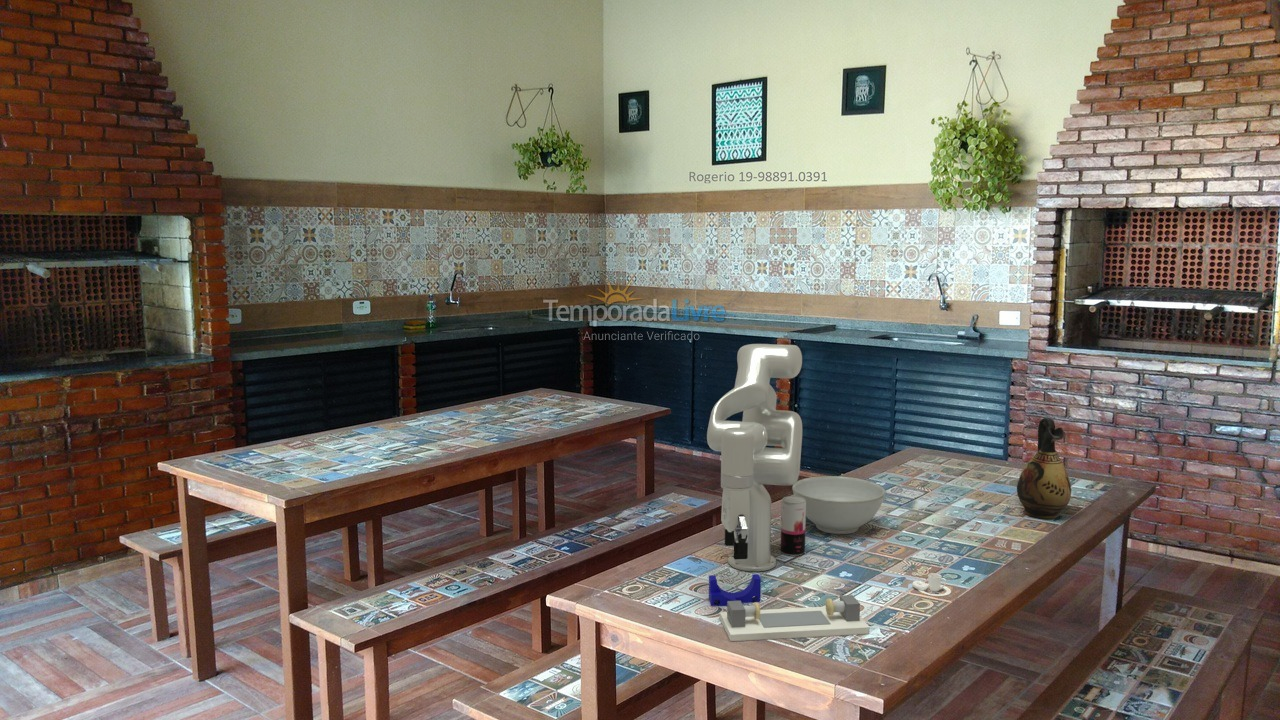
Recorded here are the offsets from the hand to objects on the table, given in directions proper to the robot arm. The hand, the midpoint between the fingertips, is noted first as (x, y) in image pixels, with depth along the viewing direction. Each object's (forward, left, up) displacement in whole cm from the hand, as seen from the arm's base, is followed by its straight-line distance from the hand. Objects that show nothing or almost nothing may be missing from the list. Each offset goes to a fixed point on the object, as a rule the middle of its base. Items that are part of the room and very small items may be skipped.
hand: (735, 552), depth 219 cm
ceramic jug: (-57, +109, -13) cm, 124 cm away
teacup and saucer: (-6, +50, -14) cm, 52 cm away
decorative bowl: (-52, +42, -13) cm, 68 cm away
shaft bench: (+13, +10, -13) cm, 21 cm away
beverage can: (-33, +23, -13) cm, 42 cm away
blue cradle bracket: (-1, 0, -13) cm, 13 cm away
